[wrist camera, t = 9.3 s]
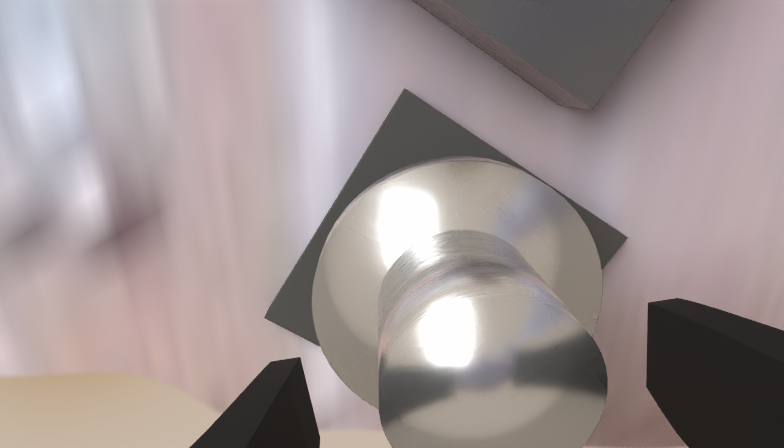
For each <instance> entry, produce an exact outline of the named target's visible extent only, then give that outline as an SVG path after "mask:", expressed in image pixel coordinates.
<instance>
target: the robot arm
mask: <svg viewBox="0 0 784 448" xmlns="http://www.w3.org/2000/svg"><path fill="white" fill-rule="evenodd" d="M646 387H647V389H648V390H649V392H650V393H651V395H652V397H653V398H654V400H655V401H656V403H657V404H658V406H659V408H660V409H661V411H662V412H663V414H664V415H665V417H666V418H667V420H668V421H669V422H670V424H671V425H672V427H673V428H674V430H675V431H676V433H677V434H678V435H679V436H680V437H681V439H682V440H683V441H684V442H685V444H686V445H687V446H688V447H689V448H784V331H783V330H780V329H777V328H774V327H771V326H768V325H765V324H762V323H759V322H756V321H753V320H749V319H746V318H743V317H740V316H737V315H734V314H731V313H728V312H725V311H722V310H719V309H716V308H712V307H709V306H706V305H703V304H699V303H696V302H692V301H688V300H684V299H679V298H676V299H669V300H663V301H657V302H650V303H648V331H647V383H646ZM319 447H320V436H319V432H318V428H317V424H316V419H315V415H314V411H313V407H312V403H311V399H310V395H309V391H308V387H307V383H306V379H305V375H304V371H303V367H302V363H301V359H300V357H298V358H292V359H285V360H279V361H273V362H270V363H269V364H268V365H267V366H266V367H265V368H264V369H263V370H262V371H261V372H260V373H259V375H258V376H257V377H256V378H255V379H254V380H253V381H252V382H251V383H250V384H249V385H248V387H247V388H246V389H245V390H244V391H243V392H242V393H241V394H240V395H239V396H238V398H237V399H236V400H235V401H234V402H233V403H232V404H231V405H230V406H229V407H228V408H227V409H226V411H225V412H224V413H223V414H222V415H221V416H220V417H219V418H218V419H217V420H216V421H215V422H214V424H212V426H211V427H210V428H209V429H208V430H207V431H206V432H205V433H204V434H203V435H202V436H201V437H200V438H199V439H198V440H197V441H196V442H195V443H194V444H193V445H192V446H191V447H190V448H319Z"/></svg>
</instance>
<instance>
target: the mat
mask: <svg viewBox="0 0 784 448" xmlns="http://www.w3.org/2000/svg"><path fill="white" fill-rule="evenodd" d="M447 156H471V157H479V158H487V159H491V160H495V161H499V162H503V163H506V164H508V165H511V166H513V167H516V168H518V169H520V170H523V171H524V172H526V173H528V174H529V175H531V176H533V177H535V178H536V179H538V180H540V181H541V182H543V183H545V182H544V181H542V180H541V179H539V178H538V177H536V176H535V175H533V174H532V173H530V172H529V171H527V170H526V169H524V168H523V167H521V166H520V165H518V164H517V163H515V162H514V161H512V160H511V159H509V158H508V157H506V156H505V155H503V154H502V153H500V152H499V151H497V150H496V149H494V148H493V147H491V146H490V145H488V144H487V143H485V142H484V141H482V140H481V139H479V138H478V137H476V136H475V135H473V134H472V133H470V132H469V131H467V130H466V129H464V128H463V127H461V126H460V125H458V124H457V123H455V122H454V121H452V120H451V119H449V118H448V117H446V116H445V115H443V114H442V113H440V112H439V111H437V110H436V109H434V108H433V107H431V106H430V105H428V104H427V103H425V102H424V101H422V100H421V99H419V98H418V97H416V96H415V95H413V94H412V93H410V92H409V91H407V90H406V89H404V90H403V91H402V93H401V95H400V96H399V98H398V100H397V101H396V103H395V104H394V106H393V108H392V109H391V111H390V113H389V114H388V116H387V117H386V119H385V121H384V122H383V124H382V126H381V127H380V129H379V130H378V132H377V134H376V135H375V137H374V138H373V140H372V142H371V143H370V145H369V147H368V148H367V150H366V151H365V153H364V155H363V156H362V158H361V160H360V161H359V163H358V164H357V166H356V168H355V169H354V171H353V173H352V174H351V176H350V177H349V179H348V181H347V182H346V184H345V186H344V187H343V189H342V190H341V192H340V194H339V195H338V197H337V199H336V200H335V202H334V203H333V205H332V207H331V208H330V210H329V212H328V213H327V215H326V216H325V218H324V220H323V221H322V223H321V225H320V226H319V228H318V229H317V231H316V233H315V234H314V236H313V238H312V239H311V241H310V242H309V244H308V246H307V247H306V249H305V251H304V252H303V254H302V255H301V257H300V259H299V260H298V262H297V264H296V265H295V267H294V268H293V270H292V272H291V273H290V275H289V277H288V278H287V280H286V281H285V283H284V285H283V286H282V288H281V289H280V291H279V293H278V294H277V296H276V298H275V299H274V301H273V302H272V304H271V306H270V307H269V309H268V311H267V313H266V315H265V317H264V318H266V319H267V320H269V321H271V322H273V323H275V324H277V325H279V326H281V327H283V328H285V329H287V330H289V331H291V332H293V333H295V334H297V335H299V336H300V337H302V338H304V339H306V340H308V341H310V342H312V343H314V344H316V345H318V346H320V343H319V341H318V338H317V335H316V331H315V326H314V321H313V313H312V291H313V282H314V278H315V273H316V269H317V265H318V262H319V258H320V255H321V252H322V250H323V247H324V244H325V242H326V239H327V237H328V235H329V233H330V231H331V230H332V228H333V226H334V224H335V222H336V221H337V220H338V218H339V217H340V216H341V214H342V213H343V212H344V210H345V209H346V208H347V206H348V205H349V204H350V203H351V202H352V201H353V200H354V199H355V198H356V197H357V196H358V195H359V194H360V193H362V192H363V191H364V190H365V189H367V188H368V187H369V186H371V185H372V184H373V183H374V182H376V181H378V180H379V179H381V178H383V177H384V176H386V175H388V174H389V173H391V172H393V171H396V170H398V169H400V168H403V167H405V166H407V165H410V164H413V163H417V162H420V161H424V160H427V159H433V158H440V157H447ZM545 184H546V185H548V184H547V183H545ZM548 186H550V185H548ZM550 187H551V186H550ZM551 188H552V189H553V190H555V191H556V192H557V193H558V194H560V195H561V196H562V197H563V198H565V200H566V201H567V202H568V203H569V204H570V205H571V206H572V207H573V208H574V209H575V210H576V211H577V213H578V214H579V216H580V217H581V219H582V220H583V222H584V223H585V224H586V226H587V228H588V230H589V232H590V234H591V236H592V238H593V240H594V242H595V245H596V248H597V252H598V255H599V258H600V263H601V270H602V269H603V268H604V266H605V265H606V264H607V263H608V261H609V260H610V259H611V258H612V256H613V255H614V254H615V253H616V252H617V250H618V249H619V248H620V247H621V245H622V244H623V243H624V242H625V241H626V239H627V238H628V237H626V236H625V235H623V234H622V233H620V232H619V231H617V230H616V229H614V228H613V227H611V226H610V225H608V224H607V223H605V222H604V221H602V220H601V219H599V218H598V217H596V216H595V215H593V214H592V213H590V212H589V211H587V210H586V209H584V208H583V207H581V206H580V205H578V204H577V203H575V202H574V201H572V200H571V199H569V198H568V197H566V196H565V195H563V194H562V193H560V192H559V191H557V190H556V189H554V188H553V187H551ZM320 347H321V346H320Z"/></svg>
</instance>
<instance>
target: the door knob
mask: <svg viewBox="0 0 784 448" xmlns="http://www.w3.org/2000/svg"><path fill="white" fill-rule="evenodd" d="M602 294H603V277H602V270H601V263H600V258H599V255H598V252H597V248H596V245H595V242H594V240H593V238H592V236H591V234H590V232H589V230H588V228H587V226H586V224H585V223H584V222H583V220H582V219H581V217H580V216H579V214H578V213H577V211H576V210H575V209H574V208H573V207H572V206H571V205H570V204H569V203H568V202H567V201H566V200H565V198H563V197H562V196H561V195H560V194H558V193H557V192H556V191H555V190H553V189H552V188H551V187H550V186H548V185H546V184H545V183H543V182H541V181H540V180H538V179H536V178H535V177H533V176H531V175H529V174H528V173H526V172H524V171H523V170H520V169H518V168H516V167H513V166H511V165H508V164H506V163H503V162H499V161H495V160H491V159H487V158H479V157H471V156H447V157H440V158H433V159H427V160H424V161H420V162H417V163H413V164H410V165H407V166H405V167H403V168H400V169H398V170H396V171H393V172H391V173H389V174H388V175H386V176H384V177H383V178H381V179H379V180H378V181H376V182H374V183H373V184H372V185H371V186H369V187H368V188H367V189H365V190H364V191H363V192H362V193H360V194H359V195H358V196H357V197H356V198H355V199H354V200H353V201H352V202H351V203H350V204H349V205H348V206H347V208H346V209H345V210H344V212H343V213H342V214H341V216H340V217H339V218H338V220H337V221H336V222H335V224H334V226H333V228H332V230H331V231H330V233H329V235H328V237H327V239H326V242H325V244H324V247H323V250H322V252H321V255H320V258H319V262H318V265H317V269H316V273H315V278H314V282H313V291H312V313H313V321H314V326H315V331H316V335H317V338H318V341H319V343H320V346H321V349H322V351H323V353H324V355H325V357H326V359H327V360H328V362H329V364H330V366H331V367H332V368H333V370H334V371H335V372H336V374H337V375H338V377H339V378H340V379H341V380H342V381H343V382H344V383H345V384H346V385H347V386H348V387H349V388H350V389H351V390H352V391H353V392H354V393H355V394H357V395H358V396H359V397H360V398H362V399H363V400H364V401H366V402H367V403H369V404H371V405H372V406H374V407H376V408H377V409H379V414H380V419H381V424H382V427H383V430H384V433H385V435H386V437H387V439H388V441H389V442H390V445H391V446H392V448H582V447H583V445H584V444H585V443H586V442H587V441H588V439H589V438H590V436H591V435H592V433H593V432H594V430H595V429H596V427H597V425H598V423H599V420H600V418H601V416H602V413H603V410H604V407H605V403H606V397H607V373H606V366H605V363H604V360H603V357H602V354H601V352H600V350H599V348H598V346H597V344H596V342H595V341H594V340H593V338H592V334H593V332H594V330H595V327H596V324H597V320H598V317H599V313H600V308H601V301H602Z"/></svg>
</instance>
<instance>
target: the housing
mask: <svg viewBox="0 0 784 448" xmlns="http://www.w3.org/2000/svg"><path fill="white" fill-rule="evenodd" d="M413 1H414V2H416V3H417V4H419V5H420V6H421V7H423V8H424V9H426V10H427V11H428V12H430V13H431V14H433V15H434V16H435V17H437V18H438V19H440V20H441V21H442V22H444V23H445V24H447V25H448V26H449V27H451V28H452V29H454V30H455V31H456V32H458V33H459V34H461V35H462V36H463V37H465V38H466V39H468V40H469V41H470V42H472V43H473V44H475V45H476V46H477V47H479V48H480V49H482V50H483V51H484V52H486V53H487V54H489V55H490V56H491V57H493V58H494V59H496V60H497V61H498V62H500V63H501V64H503V65H504V66H505V67H507V68H508V69H510V70H511V71H512V72H514V73H515V74H517V75H518V76H519V77H521V78H522V79H524V80H525V81H526V82H528V83H529V84H531V85H532V86H533V87H535V88H536V89H538V90H539V91H540V92H542V93H543V94H545V95H546V96H547V97H549V98H550V99H552V100H553V101H554V102H556V103H557V104H559V105H560V106H568V107H576V108H584V109H593V108H594V106H595V105H596V104H597V102H598V101H599V100H600V98H601V97H602V96H603V94H604V93H605V91H606V90H607V89H608V87H609V86H610V85H611V83H612V82H613V81H614V79H615V78H616V76H617V75H618V74H619V72H620V71H621V70H622V68H623V67H624V66H625V64H626V63H627V61H628V60H629V59H630V57H631V56H632V55H633V53H634V52H635V51H636V49H637V48H638V46H639V45H640V44H641V42H642V41H643V40H644V38H645V37H646V36H647V34H648V33H649V31H650V30H651V29H652V27H653V26H654V25H655V23H656V22H657V20H658V19H659V18H660V16H661V15H662V14H663V12H664V11H665V10H666V8H667V7H668V5H669V4H670V3H671V1H672V0H413Z"/></svg>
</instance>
